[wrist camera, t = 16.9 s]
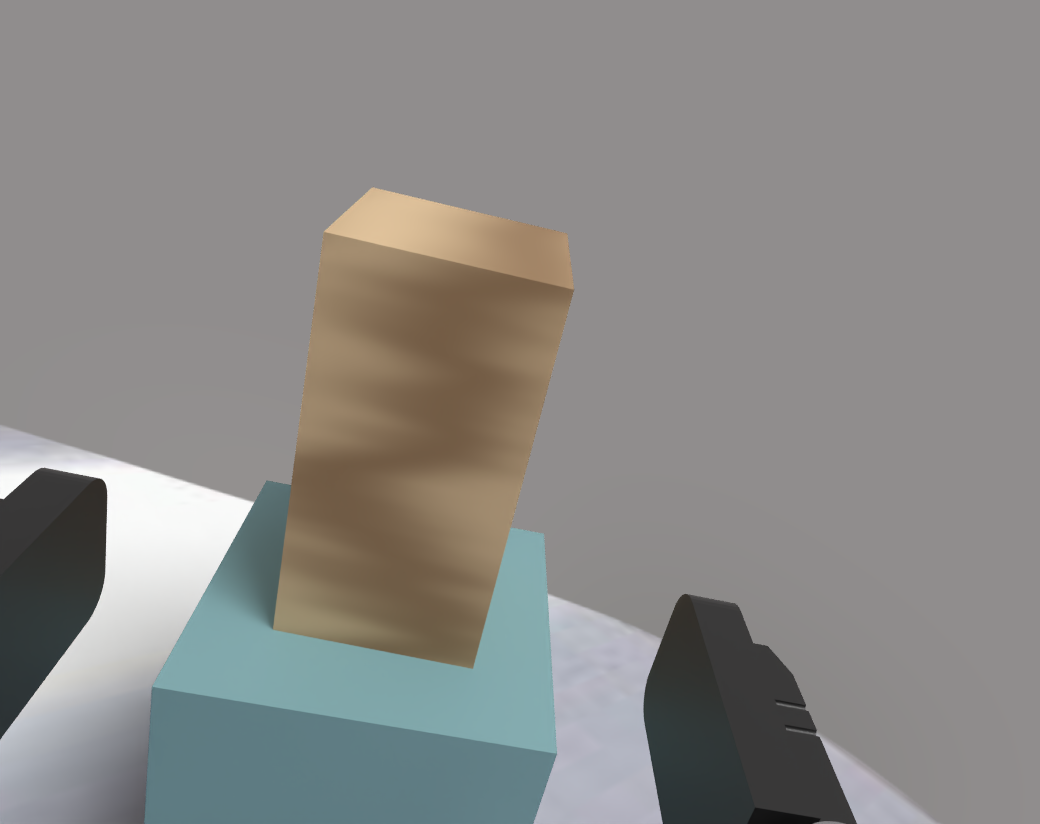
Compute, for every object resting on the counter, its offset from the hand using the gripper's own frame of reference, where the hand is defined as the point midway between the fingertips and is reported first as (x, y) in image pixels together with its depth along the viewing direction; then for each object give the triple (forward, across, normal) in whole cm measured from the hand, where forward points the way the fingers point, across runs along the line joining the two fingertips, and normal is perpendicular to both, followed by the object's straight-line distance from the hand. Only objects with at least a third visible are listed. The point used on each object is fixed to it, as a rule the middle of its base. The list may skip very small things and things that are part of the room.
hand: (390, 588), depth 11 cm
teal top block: (+9, 0, +13) cm, 16 cm away
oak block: (+9, 0, +7) cm, 11 cm away
